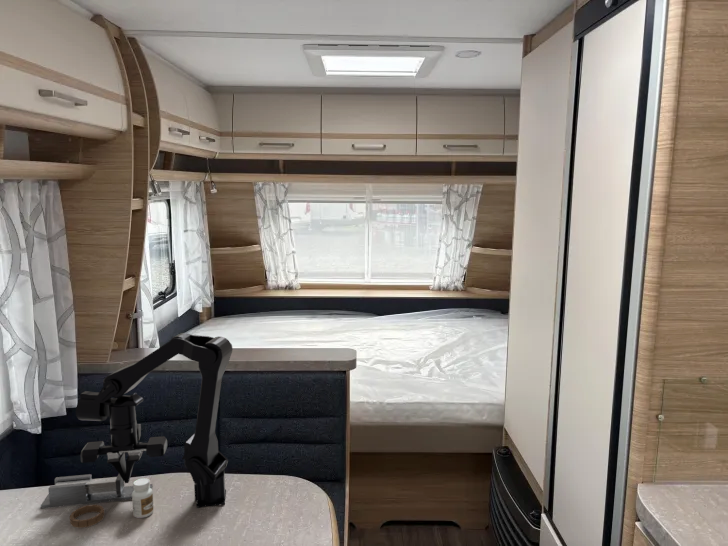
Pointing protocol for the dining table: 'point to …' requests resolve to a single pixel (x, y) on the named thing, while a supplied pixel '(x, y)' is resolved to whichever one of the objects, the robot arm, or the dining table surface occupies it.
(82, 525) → the bottle collar
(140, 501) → the pill bottle
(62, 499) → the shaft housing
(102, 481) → the grey long bar
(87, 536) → the dining table surface
